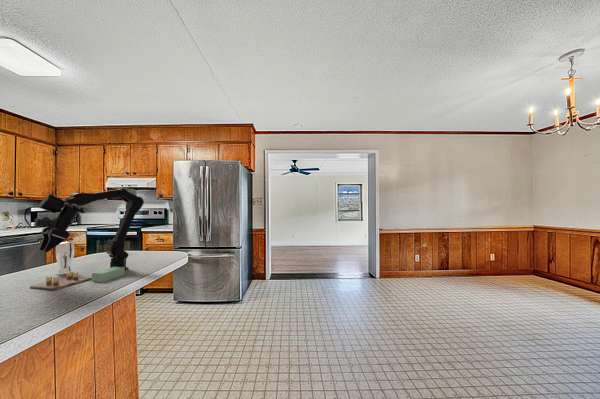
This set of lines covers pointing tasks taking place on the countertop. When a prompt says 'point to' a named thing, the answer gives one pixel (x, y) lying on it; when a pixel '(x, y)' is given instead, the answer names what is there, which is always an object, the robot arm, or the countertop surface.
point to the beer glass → (64, 257)
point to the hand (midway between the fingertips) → (43, 251)
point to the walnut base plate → (61, 282)
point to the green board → (107, 274)
